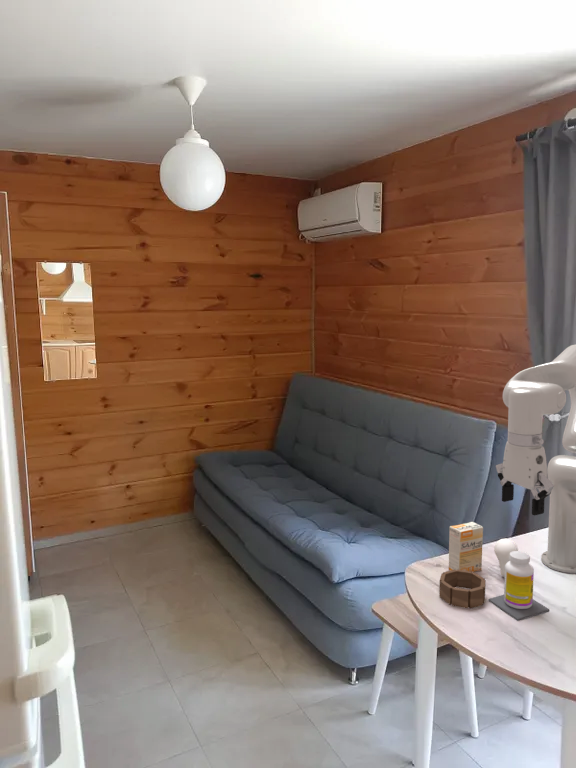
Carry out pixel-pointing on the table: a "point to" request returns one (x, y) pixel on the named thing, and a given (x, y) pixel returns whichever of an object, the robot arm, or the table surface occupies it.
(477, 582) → the ring stand
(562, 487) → the robot arm
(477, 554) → the supplement box
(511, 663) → the table surface
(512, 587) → the supplement bottle
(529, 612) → the mat
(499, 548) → the lightbulb
